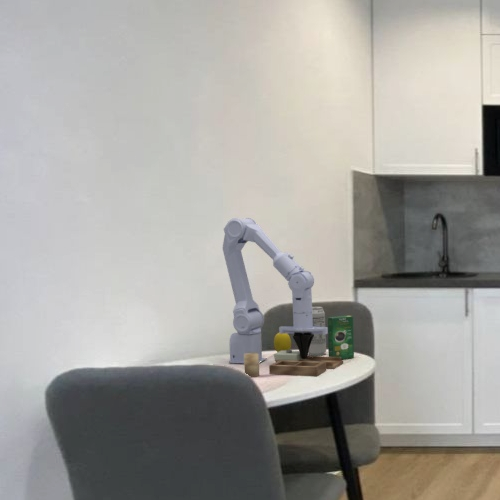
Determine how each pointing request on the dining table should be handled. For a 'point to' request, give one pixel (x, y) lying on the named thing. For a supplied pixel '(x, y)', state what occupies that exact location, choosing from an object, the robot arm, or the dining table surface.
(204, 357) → the dining table surface
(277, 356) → the lid
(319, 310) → the energy drink can
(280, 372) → the socket board
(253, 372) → the oak peg
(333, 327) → the coffee box
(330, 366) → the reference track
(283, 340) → the lemon
